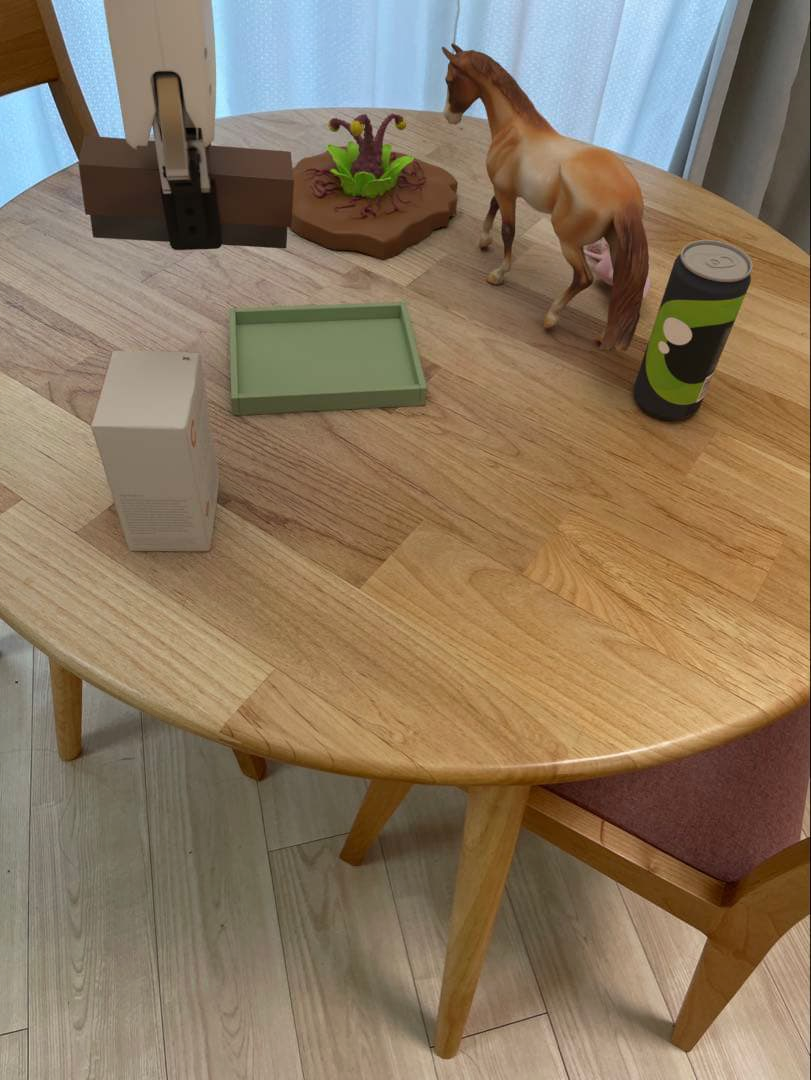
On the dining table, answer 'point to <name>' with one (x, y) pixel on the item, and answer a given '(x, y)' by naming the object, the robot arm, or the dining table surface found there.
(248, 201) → the brown wooden block
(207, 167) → the robot arm
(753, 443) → the dining table surface
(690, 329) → the beverage can
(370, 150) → the plant
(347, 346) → the tray
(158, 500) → the small box
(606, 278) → the rabbit figure
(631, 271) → the horse figurine
